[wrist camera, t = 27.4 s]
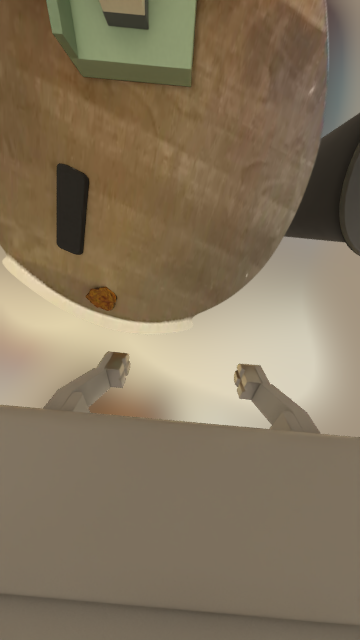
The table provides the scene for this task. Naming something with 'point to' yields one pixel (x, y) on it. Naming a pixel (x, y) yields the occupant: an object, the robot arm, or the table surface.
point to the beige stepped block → (126, 13)
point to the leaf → (102, 298)
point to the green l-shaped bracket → (128, 41)
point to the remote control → (71, 208)
